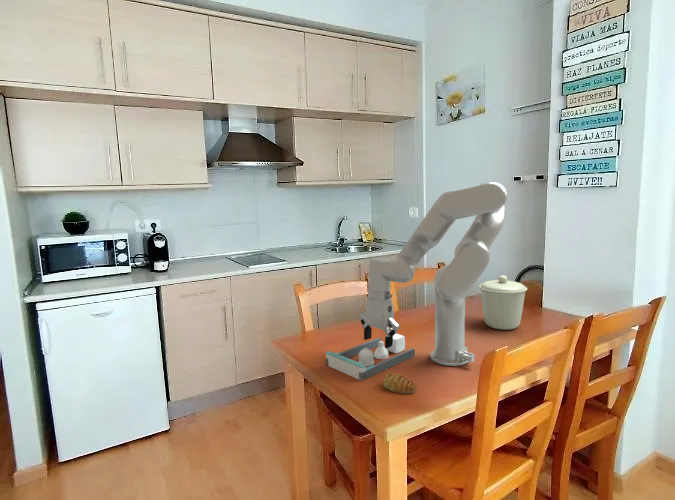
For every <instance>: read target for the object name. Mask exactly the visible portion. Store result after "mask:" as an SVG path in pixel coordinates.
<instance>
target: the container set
mask: <svg viewBox="0 0 675 500" xmlns="http://www.w3.org/2000/svg"><path fill="white" fill-rule="evenodd" d="M405 349H406V338H405V336H404V335H402V334H399V333H396V334H395V335H394V336H393V345H392V347H389V348H385V341H382V340H381V341H379V342H378V346H377V347H375V350H374V351H372V349H370V350H369V349H367V348H364V349H362V350H361V351H360V353H359V354H358V361H357V362H359V363H361V364H364V365H366V367H369V366H372V365H375V361H374V358H375V359H378V360H386V359H389V352H391V353H393V354H399V353H402V352H404V350H405Z"/></svg>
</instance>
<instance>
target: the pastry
mask: <svg viewBox="0 0 675 500" xmlns="http://www.w3.org/2000/svg"><path fill="white" fill-rule="evenodd" d="M382 386H383V387H384V388H385V390H389V391H391V392H393V393H398V394H406V395H407V394H413V393H414V392H416V391H417V388H418V387H417V385H416V383H415V382H414V381H413V380H412V379H410V378H409V377H407V376H405V375H404V374H399V373H398V372H396V373H394V372H388V373H386V375H385V376H384V378H383V382H382Z"/></svg>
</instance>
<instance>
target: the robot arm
mask: <svg viewBox="0 0 675 500" xmlns="http://www.w3.org/2000/svg"><path fill="white" fill-rule="evenodd" d="M507 201H508V193H507V190H506V188H505V187H504V186H503V185H502V184H501V183H499V182H494V181H493V182H491V181H490V182H483V183H480V184H479V185H475V186H472V187H467V188H462V189H458V190H453V191H452V190H448V191H444V192H443V193H442V194H440V195H439V197H437V199H436V201H435V202H434V203H433V205H432V206H431V208H430V209H429V211H428V212H427V213H426V215H425V216H424V217H423V219H422V220H421V222H420V223H419V224H418V226H417V227H416V229H415V230H414V232H413V233H412V235H411V237H410V238H409V239H408V240H407V242H406V243H405V245H404V246H403V247H402V249H401V250H400V251H399V253H398V254H397V256H396V257H395V258H394V259H393V260H391V259H390V258H386V257H373V258H371V259H369V260H368V274H367V275H368V281H367V282H368V285H367V296H366V301H365V304H364V305H365V307H364V312H362V313H360V314H359V315H358V316H359V319H360V323H361V325H362V329H363V340H364V341H367V340H371V339H372V330H373V329H372V328H376V329H379V330H382V331H383V332H384V333H385V335H386V336H385V338H384V347H385V348H389V347H392V345H393V336H394V335H395V334H398V331H399V329H400V325H399V323H397V321H395V310H394V303H393V299H392V298H393V294H391V287H392V282H394V283H399V284H405V283H410V282H411V281H412V280H413V278H414V276H415V269H416V268H417V266H418V264H419V263H420V262H422V261H421V260H422V259H423V258H424V257H425V255H426V254H428V252H429V251H431V250H432V249H433V248H435V247H436V246H437V245H438V244H439V243H440V242H441V241H442V239H443V238H444V236H445V235H446V234H447V233H448V231H449V230H450V228H451V227H452V225H453V224H454V223H455V222H456V220H460V219H465V218H470V217H475V218H474V220H473V221H472V223H471V225H470V226H469V228H468V229H467V231H466V233H465V234H464V235H463V237H462V238H461V239H460V241H459V242H458V243H457V244H456V245H455V248H454V257H453V259H452V261H451V262H450V263H449V264H446V265H442V266H441V267H440V268H439V269H438V270H437V271H436V273H435V275H434V301H435V303H434V305H435V306H434V350H432V351H430V354H429V355H430V359H431V361H432V362H434V363H436V364H439V365H442V366H449V367H458V366H459V367H460V366H464V365H467V364H468V363H469V362H470V363H474V362H475V356H476V355H475V353H473V352H469V351H468V346H465V344H466V343H465V337H466V336H465V335H466V333H465V332H466V331H465V330H466V327H465V326H466V325H465V324H466V319H465V318H466V297H467V295H468V294H469V293H470V291H472V289H473V288H474V287H475V284H477V282H478V281H479V279H480V278H481V276H482V275H483V273H484V272H485V271H486V269H487V267H488V266H489V263H490V258H491V253H490V250H489V249H490V248H491V247H492V245H493V244H494V242H495V240H496V239H497V237H498V235H499V234H500V232H501V231H502V228H503V226H504V224H505V218H506V209H505V208H506V207H505V204H506V202H507Z"/></svg>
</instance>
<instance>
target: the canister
mask: <svg viewBox="0 0 675 500" xmlns="http://www.w3.org/2000/svg"><path fill="white" fill-rule="evenodd" d="M478 287H479V289H480V295H481V307H482V315H483V320H484V323H485V324H486V325H487V326H488V327H490V328H493V329H496V330H507V331H508V330H514V329H516V328H518V327H519V326H520V324H521V319H522V315H523V310H524V309H523V308H524V302H525V297H526V292H527V290H528V287H527V286H525V285H524V284H523V283H520V282H518V281H513V280H509V278H508V276H506V275H499V276H498V277H497V279H494V280H486V281H483V283H481V284H479V286H478Z"/></svg>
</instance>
